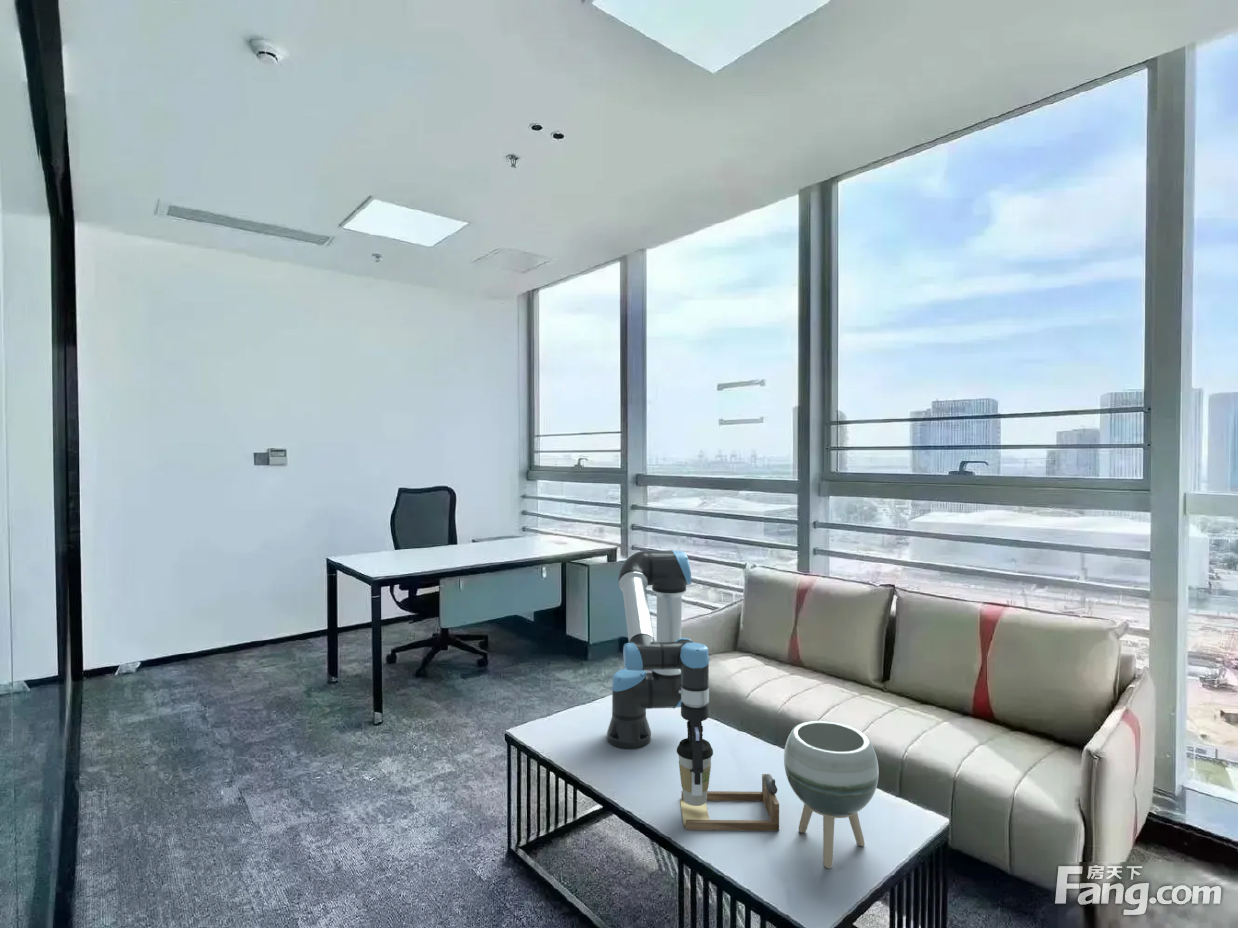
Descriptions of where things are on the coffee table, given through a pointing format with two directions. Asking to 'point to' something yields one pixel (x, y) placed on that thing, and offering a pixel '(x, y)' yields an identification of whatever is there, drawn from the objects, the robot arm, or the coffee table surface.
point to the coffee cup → (685, 774)
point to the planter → (831, 775)
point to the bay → (699, 815)
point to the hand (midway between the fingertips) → (694, 784)
